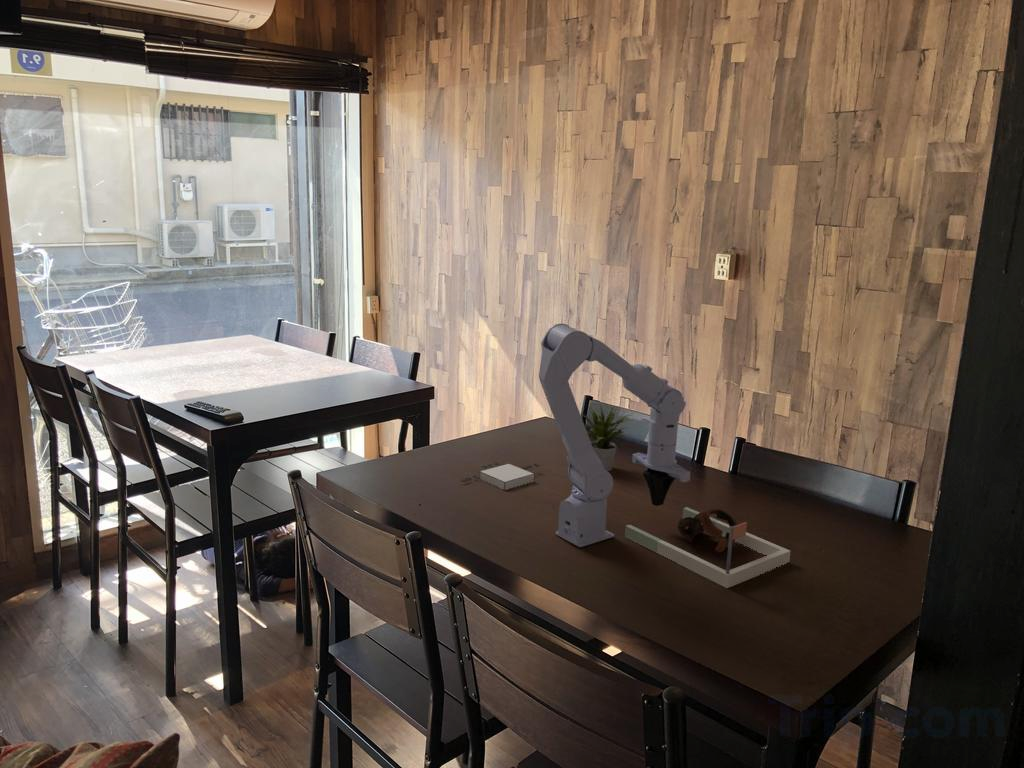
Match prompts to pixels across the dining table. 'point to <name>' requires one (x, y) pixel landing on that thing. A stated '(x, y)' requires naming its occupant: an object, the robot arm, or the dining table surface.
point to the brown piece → (707, 527)
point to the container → (505, 475)
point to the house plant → (605, 437)
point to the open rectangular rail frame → (727, 577)
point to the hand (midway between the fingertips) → (657, 504)
